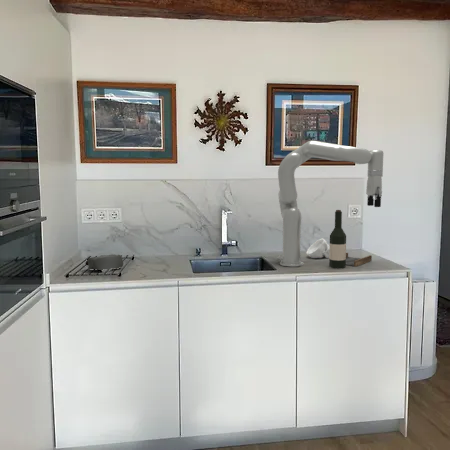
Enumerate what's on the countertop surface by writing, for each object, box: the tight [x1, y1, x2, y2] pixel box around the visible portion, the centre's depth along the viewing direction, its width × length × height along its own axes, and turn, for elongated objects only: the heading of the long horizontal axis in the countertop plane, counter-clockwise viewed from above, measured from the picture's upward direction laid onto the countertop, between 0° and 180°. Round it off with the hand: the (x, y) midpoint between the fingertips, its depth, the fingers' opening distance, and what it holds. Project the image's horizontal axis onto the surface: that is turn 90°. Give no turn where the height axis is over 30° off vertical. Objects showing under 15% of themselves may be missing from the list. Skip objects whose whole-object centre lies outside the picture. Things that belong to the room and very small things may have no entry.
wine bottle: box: [328, 209, 347, 269], centre depth 232 cm, size 8×8×30 cm
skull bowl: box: [306, 237, 330, 259], centre depth 259 cm, size 10×14×12 cm
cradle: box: [346, 252, 373, 268], centre depth 245 cm, size 15×20×3 cm
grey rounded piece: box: [85, 254, 124, 271], centre depth 233 cm, size 18×11×8 cm, turn 131°
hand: (373, 206), depth 235 cm, fingers open, 9 cm apart
